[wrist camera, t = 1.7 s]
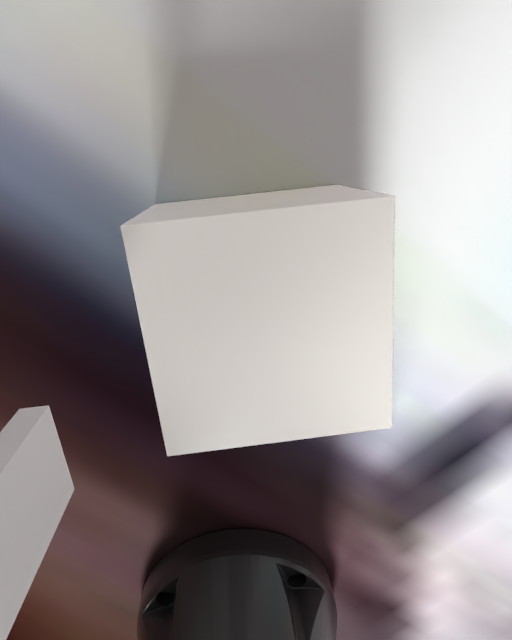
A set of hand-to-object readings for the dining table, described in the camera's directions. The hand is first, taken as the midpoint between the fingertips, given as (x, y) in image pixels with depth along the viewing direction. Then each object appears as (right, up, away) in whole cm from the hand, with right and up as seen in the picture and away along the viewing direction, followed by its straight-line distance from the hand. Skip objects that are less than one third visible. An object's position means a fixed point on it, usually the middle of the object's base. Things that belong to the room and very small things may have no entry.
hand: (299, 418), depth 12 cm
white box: (-1, +5, +14) cm, 15 cm away
